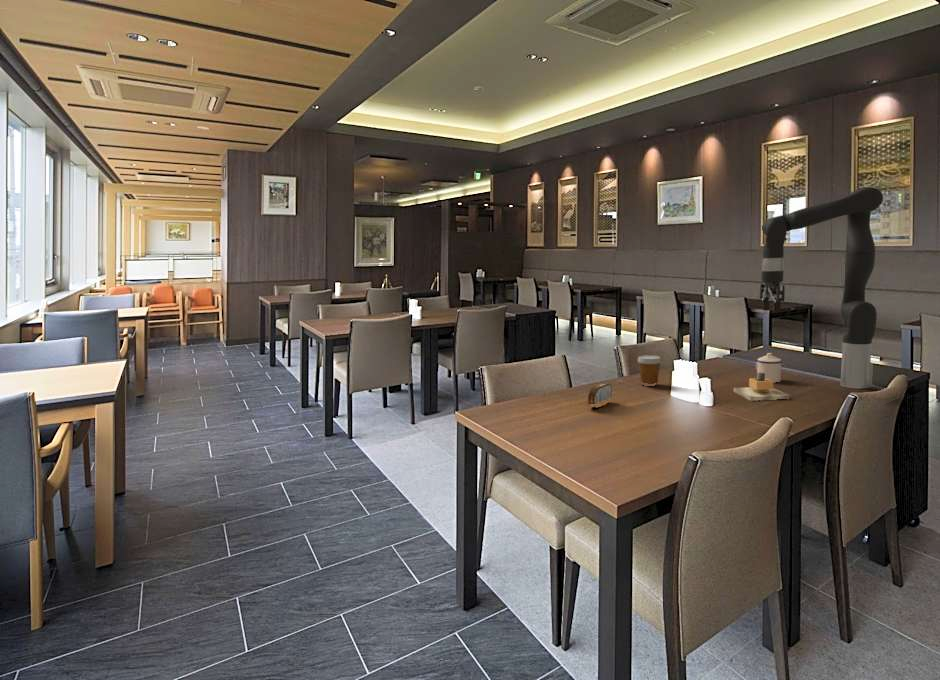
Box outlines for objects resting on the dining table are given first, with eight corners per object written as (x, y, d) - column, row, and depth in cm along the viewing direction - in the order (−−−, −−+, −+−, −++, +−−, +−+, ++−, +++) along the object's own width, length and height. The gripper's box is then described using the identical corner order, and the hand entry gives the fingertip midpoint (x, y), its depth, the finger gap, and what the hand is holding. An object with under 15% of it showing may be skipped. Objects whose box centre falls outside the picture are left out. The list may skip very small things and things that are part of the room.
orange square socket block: (765, 385, 214) (765, 377, 214) (773, 389, 208) (773, 381, 208) (749, 386, 214) (749, 378, 214) (756, 389, 208) (756, 381, 208)
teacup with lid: (786, 382, 230) (787, 354, 229) (767, 384, 229) (767, 355, 227) (765, 376, 242) (766, 349, 240) (746, 378, 240) (747, 351, 238)
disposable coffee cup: (664, 387, 231) (664, 358, 229) (640, 388, 231) (640, 359, 229) (657, 382, 240) (657, 354, 238) (634, 383, 240) (634, 355, 239)
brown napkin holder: (605, 401, 214) (605, 379, 213) (613, 402, 212) (613, 380, 211) (587, 410, 203) (586, 387, 201) (595, 411, 201) (594, 388, 199)
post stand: (769, 390, 219) (770, 368, 217) (789, 399, 205) (790, 376, 204) (733, 391, 219) (734, 370, 218) (750, 400, 205) (751, 378, 204)
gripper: (792, 269, 211) (790, 312, 214) (773, 268, 226) (771, 309, 228) (772, 270, 212) (770, 313, 214) (754, 269, 226) (752, 310, 228)
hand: (771, 311), depth 221 cm, fingers open, 8 cm apart
